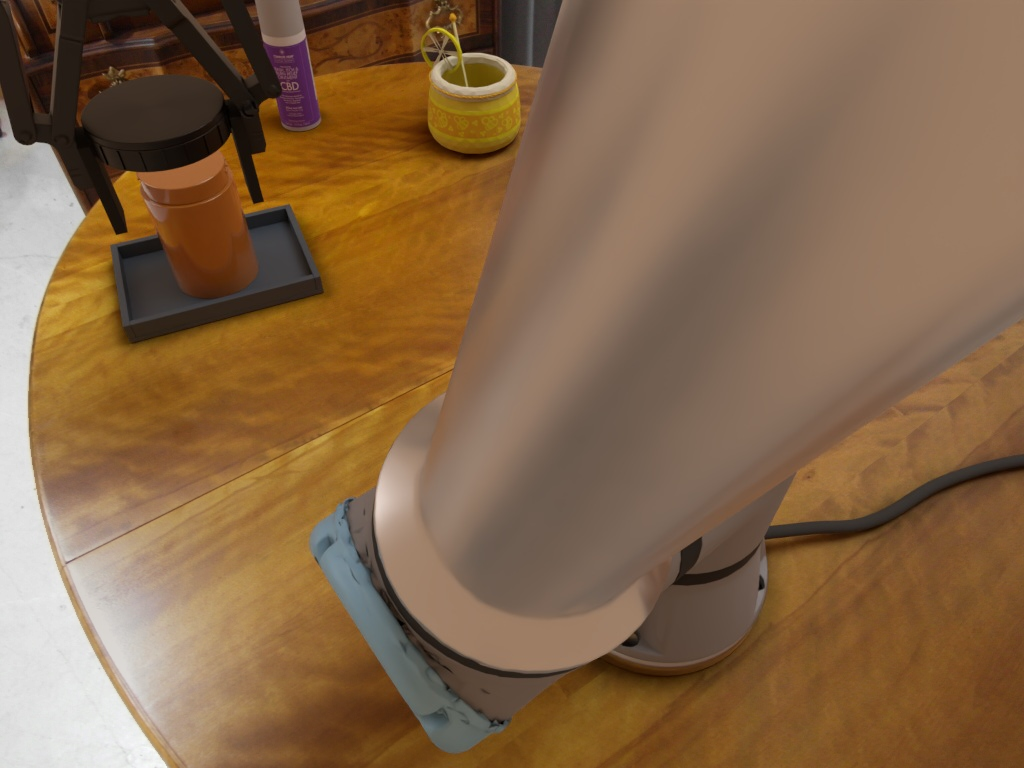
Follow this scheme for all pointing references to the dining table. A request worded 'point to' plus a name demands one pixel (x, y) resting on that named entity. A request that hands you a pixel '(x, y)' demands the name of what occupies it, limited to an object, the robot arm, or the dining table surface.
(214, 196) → the jar
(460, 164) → the dining table surface
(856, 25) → the robot arm
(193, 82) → the jar lid
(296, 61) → the container
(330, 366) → the dining table surface
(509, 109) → the yellow honey pot
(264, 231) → the tray
